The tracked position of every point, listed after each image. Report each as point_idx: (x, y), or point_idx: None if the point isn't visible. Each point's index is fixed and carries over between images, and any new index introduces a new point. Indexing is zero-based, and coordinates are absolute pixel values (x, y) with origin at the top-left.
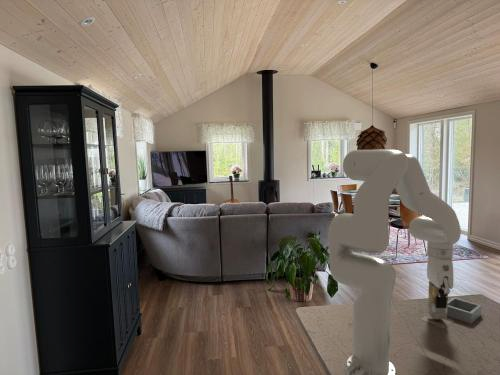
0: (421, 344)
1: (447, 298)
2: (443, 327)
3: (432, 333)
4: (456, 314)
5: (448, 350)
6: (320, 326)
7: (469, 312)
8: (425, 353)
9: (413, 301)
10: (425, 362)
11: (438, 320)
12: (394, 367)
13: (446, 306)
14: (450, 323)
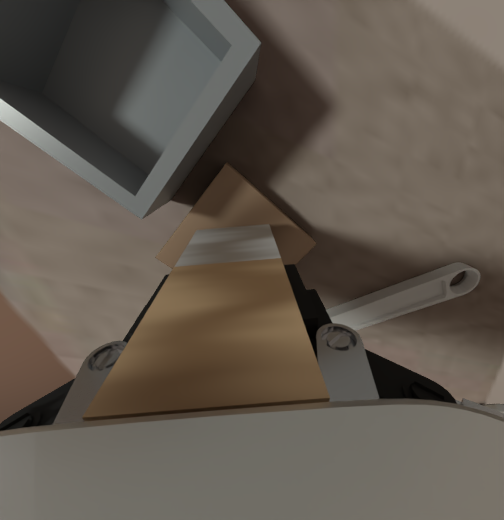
0: (386, 329)
1: (290, 289)
2: (309, 246)
3: (317, 281)
4: (201, 145)
5: (434, 263)
6: None
7: (242, 55)
8: (436, 330)
9: (15, 280)
10: (477, 340)
11: None
12: (499, 411)
13: (294, 266)
14: (266, 200)
